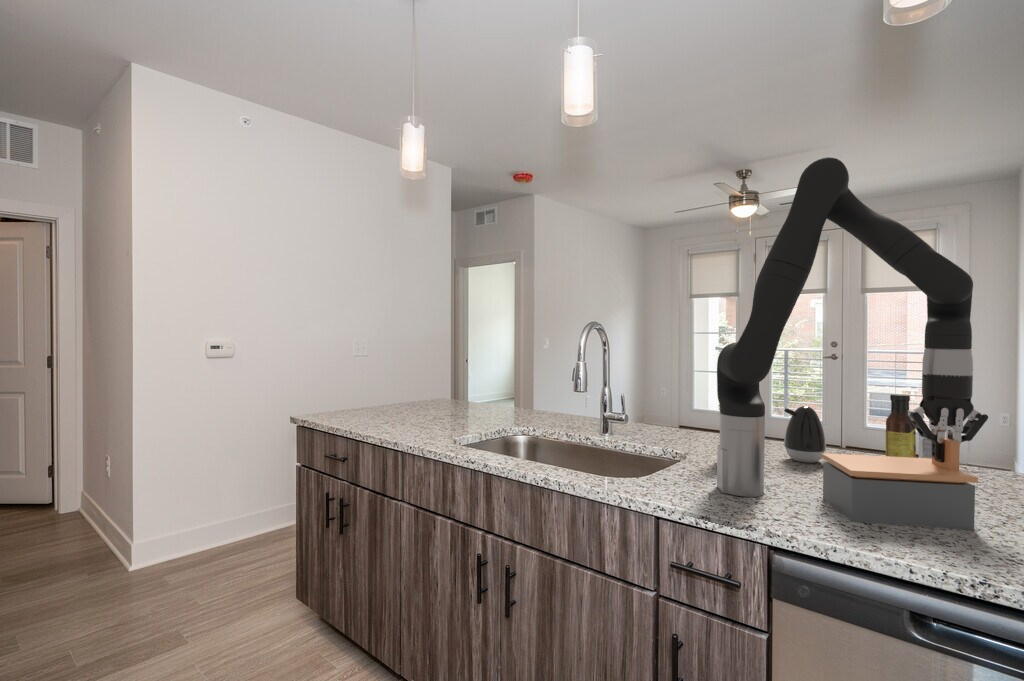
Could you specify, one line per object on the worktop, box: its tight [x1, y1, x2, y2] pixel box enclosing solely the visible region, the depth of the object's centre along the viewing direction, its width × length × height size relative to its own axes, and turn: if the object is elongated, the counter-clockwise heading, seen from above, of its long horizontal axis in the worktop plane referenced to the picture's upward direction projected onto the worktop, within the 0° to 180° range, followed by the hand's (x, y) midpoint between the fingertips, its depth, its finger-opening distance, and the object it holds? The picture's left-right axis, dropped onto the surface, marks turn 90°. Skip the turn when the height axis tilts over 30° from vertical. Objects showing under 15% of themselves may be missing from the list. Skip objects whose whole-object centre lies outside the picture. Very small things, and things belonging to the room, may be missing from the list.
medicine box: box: [918, 433, 932, 459], centre depth 139 cm, size 8×4×9 cm, turn 148°
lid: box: [821, 437, 979, 484], centre depth 104 cm, size 21×15×7 cm
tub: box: [822, 460, 976, 531], centre depth 104 cm, size 20×14×8 cm
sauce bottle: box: [885, 393, 917, 458], centre depth 135 cm, size 7×6×20 cm
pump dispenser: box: [783, 405, 827, 464], centre depth 146 cm, size 10×10×15 cm
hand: (944, 461), depth 102 cm, fingers closed on lid, 1 cm apart
